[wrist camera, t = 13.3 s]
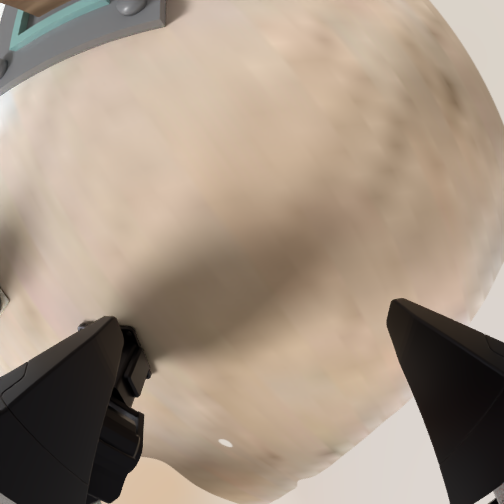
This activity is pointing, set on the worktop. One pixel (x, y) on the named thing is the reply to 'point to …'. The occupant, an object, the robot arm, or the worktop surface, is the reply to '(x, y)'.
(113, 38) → the baseplate
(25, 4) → the pillar
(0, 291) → the condiment
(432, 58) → the worktop surface
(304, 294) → the worktop surface
